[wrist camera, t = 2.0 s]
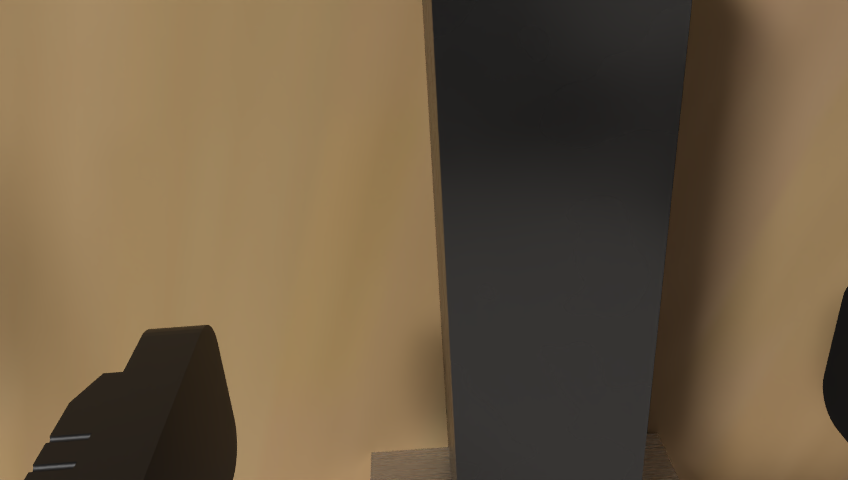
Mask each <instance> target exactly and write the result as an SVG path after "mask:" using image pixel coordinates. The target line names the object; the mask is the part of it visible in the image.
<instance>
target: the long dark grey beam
mask: <svg viewBox="0 0 848 480" xmlns="http://www.w3.org/2000/svg"><path fill="white" fill-rule="evenodd" d="M422 5H423V22H424V39H425V56H426V73H427V90H428V107H429V124H430V141H431V158H432V175H433V193H434V210H435V227H436V244H437V261H438V278H439V295H440V312H441V329H442V346H443V363H444V380H445V398H446V415H447V432H448V447H444V448H429V449H415V450H400V451H386V452H371V478H370V480H679V478H678V476H677V474H676V472H675V470H674V468H673V466H672V463H671V461H670V459H669V457H668V455H667V453H666V451H665V448H664V446H663V444H662V442H661V440H660V438H659V436H658V433H647V427H648V418H649V408H650V399H651V389H652V380H653V370H654V360H655V351H656V341H657V332H658V322H659V313H660V303H661V293H662V284H663V274H664V265H665V255H666V246H667V236H668V226H669V217H670V207H671V198H672V188H673V179H674V169H675V159H676V150H677V140H678V131H679V121H680V111H681V102H682V92H683V83H684V73H685V64H686V54H687V44H688V35H689V25H690V16H691V6H692V0H422Z"/></svg>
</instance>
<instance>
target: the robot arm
mask: <svg viewBox="0 0 848 480" xmlns="http://www.w3.org/2000/svg"><path fill="white" fill-rule="evenodd" d="M823 395H824V401H825V405H826V408H827V411H828V414H829V416H830V419H831V420H832V422H833V424H834V425H835V427H836V428H837V430H838V431H839V432H840V433H841V435H842V436H843V437H844V438H845V439H846V441H847V442H848V287H847V288H846V290H845V292H844V295H843V299H842V303H841V307H840V311H839V315H838V320H837V324H836V328H835V332H834V336H833V340H832V344H831V349H830V353H829V357H828V361H827V365H826V369H825V373H824V379H823ZM236 457H237V435H236V426H235V420H234V415H233V410H232V406H231V401H230V397H229V392H228V388H227V383H226V379H225V374H224V370H223V365H222V360H221V356H220V351H219V347H218V342H217V339H216V335H215V333H214V331H213V329H212V327H211V326H209V325H200V326H187V327H173V328H160V329H148V330H146V331H145V332H144V333H143V335H142V337H141V338H140V340H139V342H138V344H137V346H136V348H135V350H134V352H133V354H132V356H131V358H130V360H129V362H128V364H127V366H126V367H125V369H124V371H123V372H116V373H103V374H102V375H101V376H100V377H99V378H98V379H96V380H95V381H94V382H93V383H92V384H91V385H89V386H88V387H87V388H86V389H85V390H84V391H83V392H81V393H80V394H79V395H78V396H77V397H76V398H74V399H73V400H72V401H71V402H70V403H69V404H68V406H67V408H66V410H65V411H64V413H63V415H62V416H61V418H60V420H59V421H58V423H57V425H56V427H55V428H54V430H53V432H52V433H51V435H50V443H46V444H45V445H44V447H43V449H42V450H41V452H40V454H39V455H38V457H37V459H36V461H35V462H34V464H33V472H29V473H28V474H27V476H26V478H25V479H24V480H233V477H234V472H235V467H236Z"/></svg>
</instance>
